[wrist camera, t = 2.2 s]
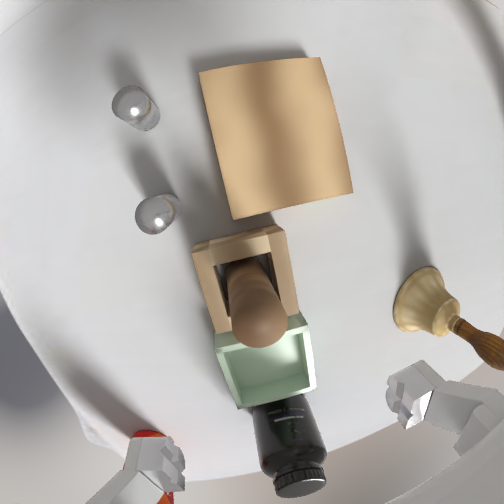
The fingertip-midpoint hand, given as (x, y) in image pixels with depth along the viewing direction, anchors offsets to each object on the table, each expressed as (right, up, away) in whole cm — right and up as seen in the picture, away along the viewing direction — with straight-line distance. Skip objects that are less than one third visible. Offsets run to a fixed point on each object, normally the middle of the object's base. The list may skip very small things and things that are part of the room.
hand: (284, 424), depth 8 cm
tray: (0, -4, +18) cm, 19 cm away
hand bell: (+19, 0, +19) cm, 27 cm away
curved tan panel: (+1, +16, +13) cm, 21 cm away
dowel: (-2, +4, +16) cm, 16 cm away
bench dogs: (-9, +13, +12) cm, 20 cm away
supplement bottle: (+2, -13, +21) cm, 24 cm away
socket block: (-2, +4, +16) cm, 16 cm away
